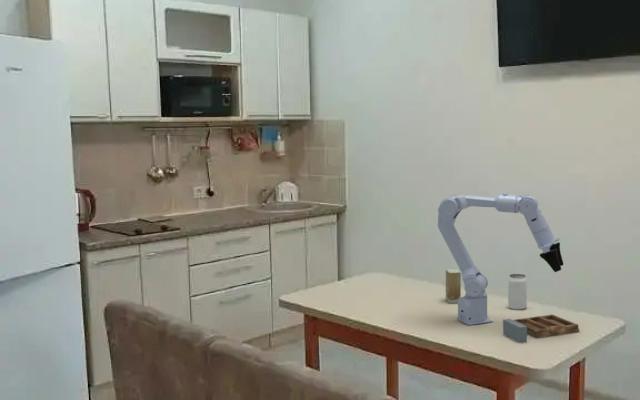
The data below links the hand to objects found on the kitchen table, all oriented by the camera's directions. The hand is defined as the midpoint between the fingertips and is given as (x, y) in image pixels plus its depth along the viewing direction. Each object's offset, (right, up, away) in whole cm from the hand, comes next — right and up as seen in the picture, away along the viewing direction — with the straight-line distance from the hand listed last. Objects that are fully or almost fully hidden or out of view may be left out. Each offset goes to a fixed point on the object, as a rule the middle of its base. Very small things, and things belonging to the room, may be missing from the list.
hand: (559, 268), depth 213 cm
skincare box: (-27, -17, +38) cm, 50 cm away
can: (-5, -17, +27) cm, 33 cm away
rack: (-4, -20, +2) cm, 20 cm away
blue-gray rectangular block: (-16, -21, -6) cm, 28 cm away
